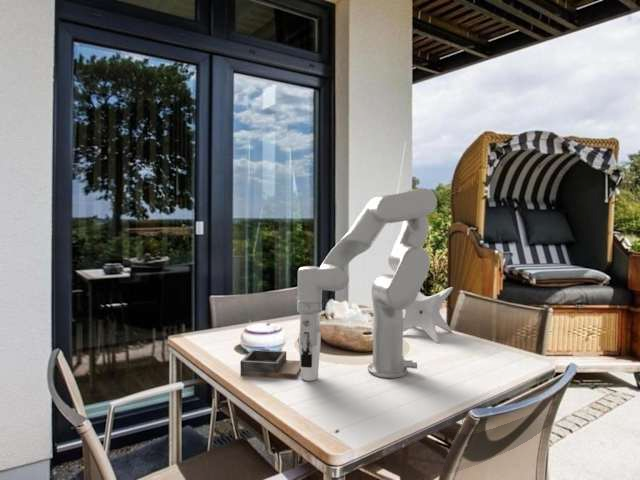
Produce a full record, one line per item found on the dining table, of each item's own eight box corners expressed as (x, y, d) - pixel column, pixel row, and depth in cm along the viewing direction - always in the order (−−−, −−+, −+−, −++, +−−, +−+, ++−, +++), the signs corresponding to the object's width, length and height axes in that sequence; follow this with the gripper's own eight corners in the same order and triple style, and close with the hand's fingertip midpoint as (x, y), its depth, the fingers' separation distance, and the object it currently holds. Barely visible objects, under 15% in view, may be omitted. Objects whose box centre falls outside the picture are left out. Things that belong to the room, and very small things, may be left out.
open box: (303, 365, 144) (303, 352, 143) (296, 378, 132) (296, 364, 131) (252, 362, 146) (252, 349, 146) (240, 375, 134) (240, 361, 134)
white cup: (317, 383, 128) (318, 334, 127) (296, 381, 129) (296, 333, 129) (322, 375, 135) (322, 328, 134) (301, 373, 136) (301, 327, 135)
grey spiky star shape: (452, 332, 186) (453, 287, 185) (438, 343, 169) (439, 294, 168) (408, 326, 196) (408, 283, 195) (391, 336, 179) (392, 289, 178)
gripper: (317, 313, 122) (316, 372, 123) (325, 301, 139) (325, 353, 140) (291, 312, 123) (291, 371, 124) (303, 300, 140) (302, 352, 141)
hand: (309, 361), depth 132 cm, fingers open, 8 cm apart
